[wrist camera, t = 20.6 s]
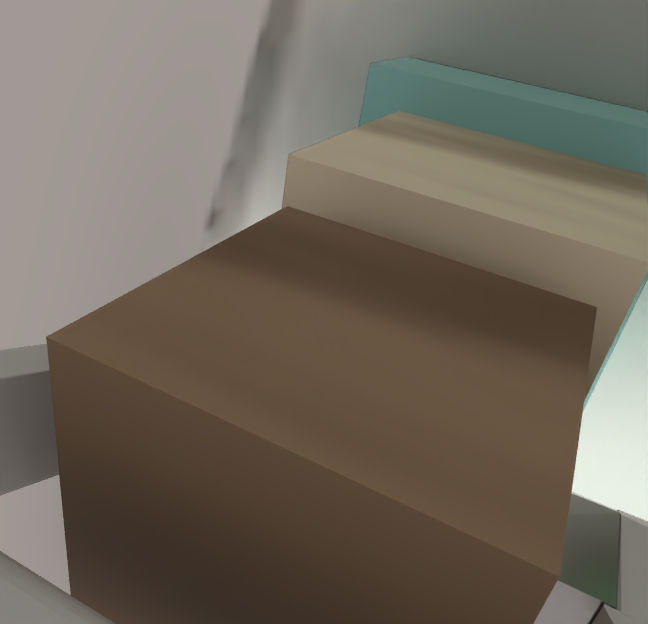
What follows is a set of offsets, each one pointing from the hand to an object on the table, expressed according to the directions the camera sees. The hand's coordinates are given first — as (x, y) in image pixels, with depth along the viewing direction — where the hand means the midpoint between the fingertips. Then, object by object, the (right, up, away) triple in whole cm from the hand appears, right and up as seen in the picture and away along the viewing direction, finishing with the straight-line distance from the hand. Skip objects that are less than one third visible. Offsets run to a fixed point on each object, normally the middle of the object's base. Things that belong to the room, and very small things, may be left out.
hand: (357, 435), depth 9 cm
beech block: (+4, +3, +7) cm, 9 cm away
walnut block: (+1, +1, +1) cm, 2 cm away
